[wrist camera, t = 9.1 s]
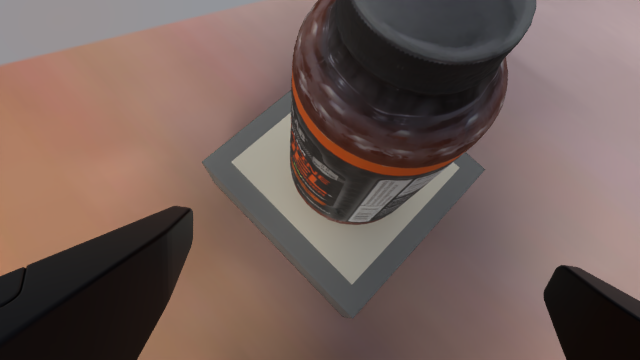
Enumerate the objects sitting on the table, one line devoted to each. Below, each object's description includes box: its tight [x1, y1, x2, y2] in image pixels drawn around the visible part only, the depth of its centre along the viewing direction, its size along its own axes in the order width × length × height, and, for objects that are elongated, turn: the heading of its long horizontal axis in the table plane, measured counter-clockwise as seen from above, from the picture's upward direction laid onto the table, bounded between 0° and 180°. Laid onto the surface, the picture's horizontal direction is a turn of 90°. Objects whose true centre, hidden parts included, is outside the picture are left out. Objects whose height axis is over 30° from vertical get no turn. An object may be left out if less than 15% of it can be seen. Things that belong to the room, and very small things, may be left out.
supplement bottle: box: [290, 0, 536, 225], centre depth 13 cm, size 6×6×11 cm
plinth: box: [202, 91, 485, 319], centre depth 19 cm, size 10×10×3 cm
